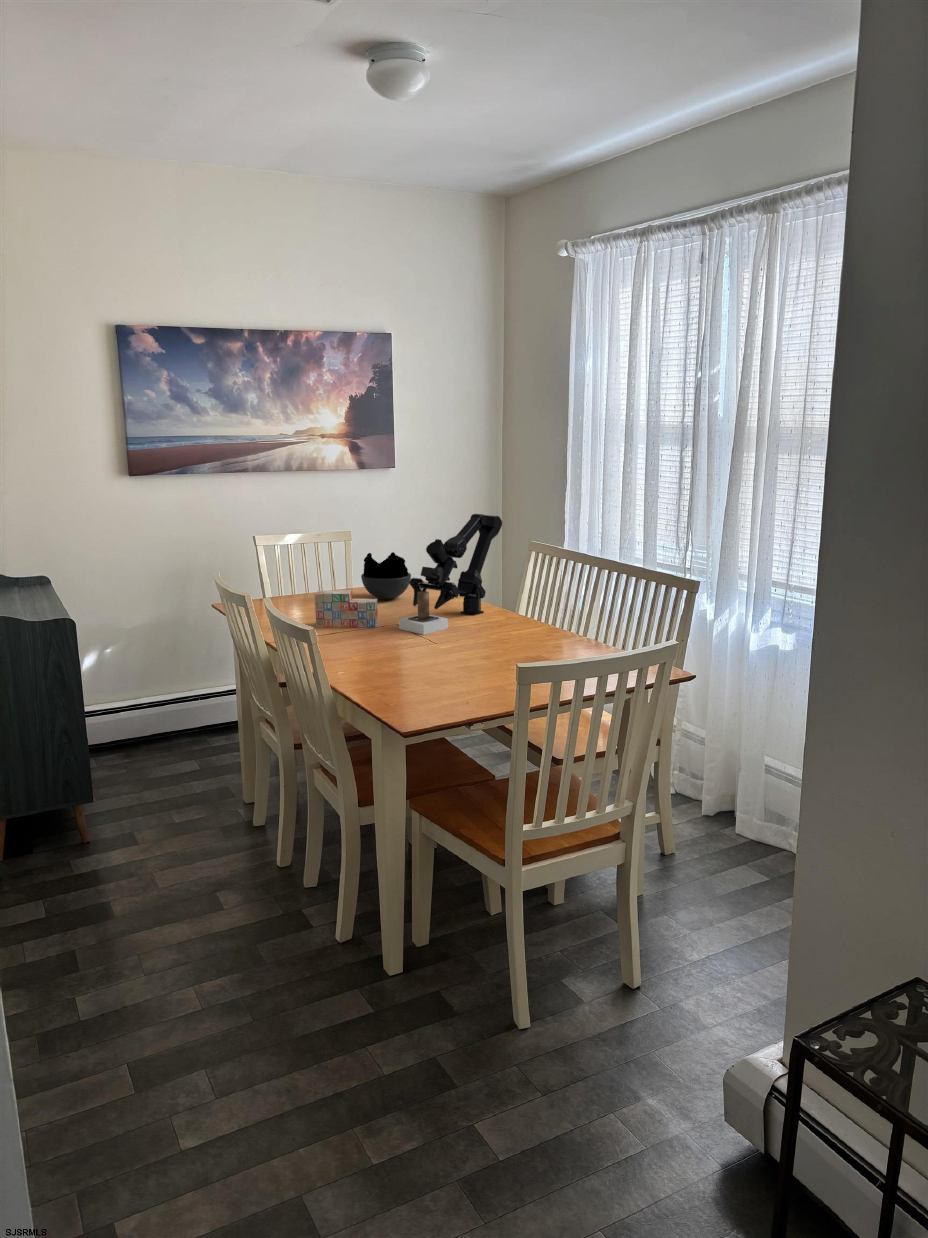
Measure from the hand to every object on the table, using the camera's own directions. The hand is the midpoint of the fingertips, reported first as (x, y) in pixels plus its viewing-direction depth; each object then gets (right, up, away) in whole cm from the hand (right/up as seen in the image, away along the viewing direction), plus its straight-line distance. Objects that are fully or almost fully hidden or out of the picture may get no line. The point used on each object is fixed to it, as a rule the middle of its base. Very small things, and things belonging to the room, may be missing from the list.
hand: (424, 607), depth 314 cm
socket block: (0, -8, +1) cm, 8 cm away
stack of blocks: (-28, -7, +7) cm, 29 cm away
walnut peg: (0, -8, +1) cm, 8 cm away
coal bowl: (-18, +4, +51) cm, 54 cm away
